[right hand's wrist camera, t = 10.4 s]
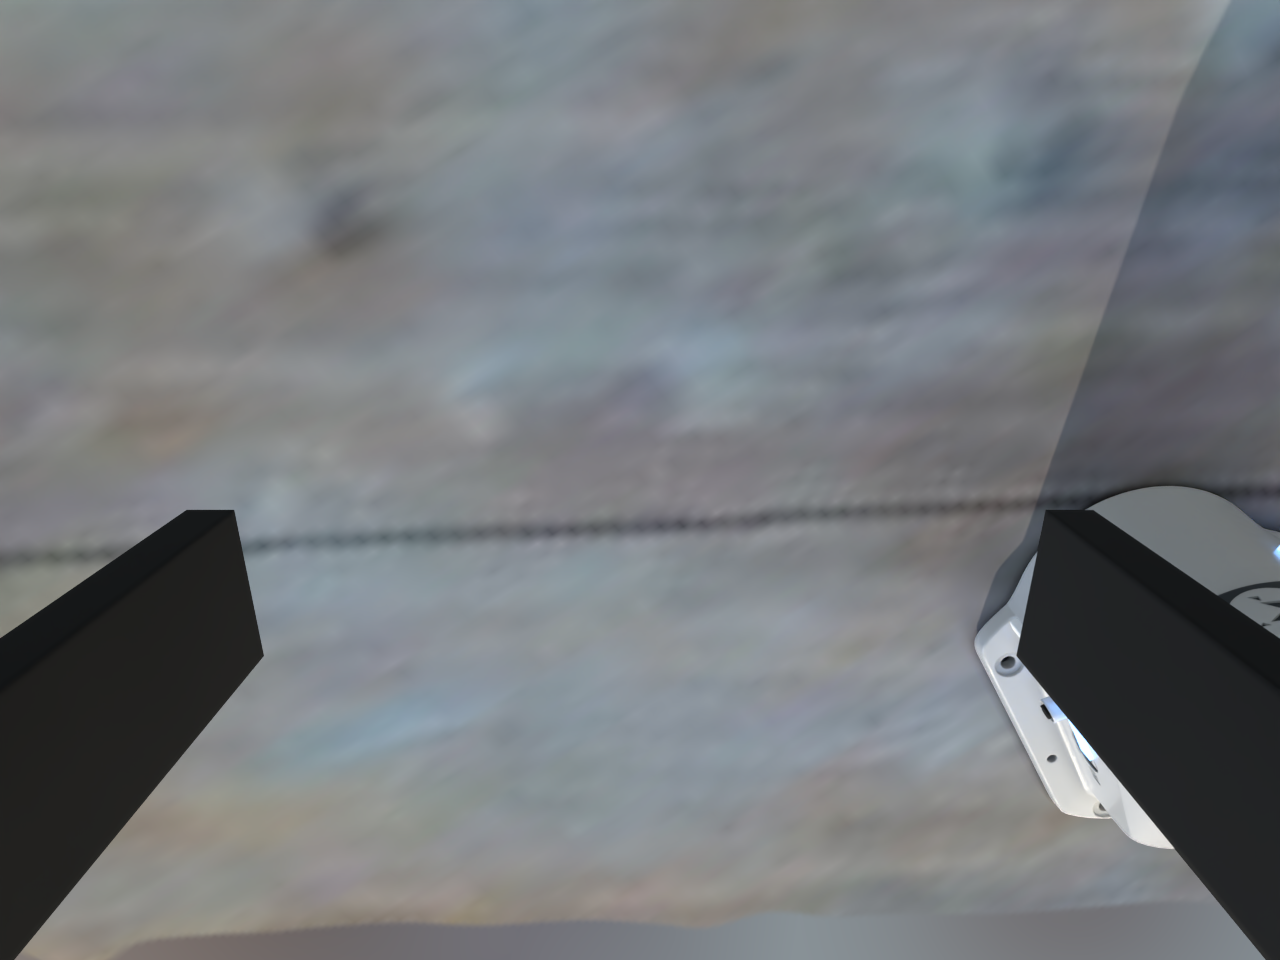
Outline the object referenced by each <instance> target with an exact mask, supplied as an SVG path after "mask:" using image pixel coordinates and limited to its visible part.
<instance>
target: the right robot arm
mask: <svg viewBox="0 0 1280 960" xmlns="http://www.w3.org/2000/svg"><path fill="white" fill-rule="evenodd" d="M263 656H264V654H263V650H262V645H261V640H260V635H259V630H258V625H257V620H256V615H255V610H254V605H253V600H252V595H251V591H250V586H249V581H248V576H247V571H246V566H245V561H244V556H243V551H242V546H241V541H240V537H239V532H238V527H237V522H236V517H235V512H234V510H186V511H185V512H183V513H182V514H180V515H179V516H177V517H176V518H174V519H173V520H171V521H170V522H169V523H167V524H166V525H164V526H163V527H161V528H160V529H158V530H157V531H155V532H154V533H153V534H151V535H150V536H148V537H147V538H145V539H144V540H142V541H141V542H140V543H138V544H137V545H135V546H134V547H132V548H131V549H129V550H128V551H126V552H125V553H124V554H122V555H121V556H119V557H118V558H116V559H115V560H113V561H112V562H110V563H109V564H108V565H106V566H105V567H103V568H102V569H100V570H99V571H97V572H96V573H94V574H93V575H92V576H90V577H89V578H87V579H86V580H84V581H83V582H81V583H80V584H79V585H77V586H76V587H74V588H73V589H71V590H70V591H68V592H67V593H65V594H64V595H63V596H61V597H60V598H58V599H57V600H55V601H54V602H52V603H51V604H49V605H48V606H47V607H45V608H44V609H42V610H41V611H39V612H38V613H36V614H35V615H33V616H32V617H31V618H29V619H28V620H26V621H25V622H23V623H22V624H20V625H19V626H18V627H16V628H15V629H13V630H12V631H10V632H9V633H7V634H6V635H4V636H3V637H2V638H0V960H14V959H15V958H16V957H17V956H18V954H19V953H20V952H21V951H22V950H23V948H24V947H25V946H26V945H27V944H28V942H29V941H30V940H31V939H32V937H33V936H34V935H35V934H36V933H37V931H38V930H39V929H40V928H41V926H42V925H43V924H44V923H45V922H46V920H47V919H48V918H49V917H50V916H51V914H52V913H53V912H54V911H55V909H56V908H57V907H58V906H59V905H60V903H61V902H62V901H63V900H64V898H65V897H66V896H67V895H68V894H69V892H70V891H71V890H72V889H73V888H74V886H75V885H76V884H77V883H78V881H79V880H80V879H81V878H82V877H83V875H84V874H85V873H86V872H87V870H88V869H89V868H90V867H91V866H92V864H93V863H94V862H95V861H96V860H97V858H98V857H99V856H100V855H101V853H102V852H103V851H104V850H105V849H106V847H107V846H108V845H109V844H110V842H111V841H112V840H113V839H114V838H115V836H116V835H117V834H118V833H119V832H120V830H121V829H122V828H123V827H124V825H125V824H126V823H127V822H128V821H129V819H130V818H131V817H132V816H133V814H134V813H135V812H136V811H137V810H138V808H139V807H140V806H141V805H142V804H143V802H144V801H145V800H146V799H147V797H148V796H149V795H150V794H151V793H152V791H153V790H154V789H155V788H156V786H157V785H158V784H159V783H160V782H161V780H162V779H163V778H164V777H165V776H166V774H167V773H168V772H169V771H170V769H171V768H172V767H173V766H174V765H175V763H176V762H177V761H178V760H179V758H180V757H181V756H182V755H183V754H184V752H185V751H186V750H187V749H188V748H189V746H190V745H191V744H192V743H193V741H194V740H195V739H196V738H197V737H198V735H199V734H200V733H201V732H202V730H203V729H204V728H205V727H206V726H207V724H208V723H209V722H210V721H211V720H212V718H213V717H214V716H215V715H216V713H217V712H218V711H219V710H220V709H221V707H222V706H223V705H224V704H225V702H226V701H227V700H228V699H229V698H230V696H231V695H232V694H233V693H234V692H235V690H236V689H237V688H238V687H239V685H240V684H241V683H242V682H243V681H244V679H245V678H246V677H247V676H248V674H249V673H250V672H251V671H252V670H253V668H254V667H255V666H256V665H257V664H258V662H259V661H260V660H261V659H262V657H263ZM1016 656H1017V657H1018V659H1019V660H1020V661H1021V662H1022V664H1023V665H1024V666H1025V667H1026V668H1027V670H1028V671H1029V672H1030V673H1031V674H1032V676H1033V677H1034V678H1035V679H1036V681H1037V682H1038V683H1039V684H1040V685H1041V687H1042V688H1043V689H1044V690H1045V692H1046V693H1047V694H1048V695H1049V696H1050V698H1051V699H1052V700H1053V701H1054V702H1055V704H1056V705H1057V706H1058V707H1059V709H1060V710H1061V711H1062V712H1063V713H1064V715H1065V716H1066V717H1067V718H1068V720H1069V721H1070V722H1071V723H1072V724H1073V726H1074V727H1075V728H1076V729H1077V730H1078V732H1079V733H1080V734H1081V735H1082V737H1083V738H1084V739H1085V740H1086V741H1087V743H1088V744H1089V745H1090V746H1091V748H1092V749H1093V750H1094V751H1095V752H1096V754H1097V755H1098V756H1099V757H1100V758H1101V760H1102V761H1103V762H1104V763H1105V765H1106V766H1107V767H1108V768H1109V769H1110V771H1111V772H1112V773H1113V774H1114V776H1115V777H1116V778H1117V779H1118V780H1119V782H1120V783H1121V784H1122V785H1123V786H1124V788H1125V789H1126V790H1127V791H1128V793H1129V794H1130V795H1131V796H1132V797H1133V799H1134V800H1135V801H1136V802H1137V804H1138V805H1139V806H1140V807H1141V808H1142V810H1143V811H1144V812H1145V813H1146V814H1147V816H1148V817H1149V818H1150V819H1151V821H1152V822H1153V823H1154V824H1155V825H1156V827H1157V828H1158V829H1159V830H1160V832H1161V833H1162V834H1163V835H1164V836H1165V838H1166V839H1167V840H1168V841H1169V842H1170V844H1171V845H1172V846H1173V847H1174V849H1175V850H1176V851H1177V852H1178V853H1179V855H1180V856H1181V857H1182V858H1183V860H1184V861H1185V862H1186V863H1187V864H1188V866H1189V867H1190V868H1191V869H1192V870H1193V872H1194V873H1195V874H1196V875H1197V877H1198V878H1199V879H1200V880H1201V881H1202V883H1203V884H1204V885H1205V886H1206V888H1207V889H1208V890H1209V891H1210V892H1211V894H1212V895H1213V896H1214V897H1215V898H1216V900H1217V901H1218V902H1219V903H1220V905H1221V906H1222V907H1223V908H1224V909H1225V911H1226V912H1227V913H1228V914H1229V916H1230V917H1231V918H1232V919H1233V920H1234V922H1235V923H1236V924H1237V925H1238V926H1239V928H1240V929H1241V930H1242V931H1243V933H1244V934H1245V935H1246V936H1247V937H1248V939H1249V940H1250V941H1251V942H1252V944H1253V945H1254V946H1255V947H1256V948H1257V950H1258V951H1259V952H1260V953H1261V954H1262V956H1263V957H1264V958H1265V959H1266V960H1280V638H1278V637H1277V636H1276V635H1274V634H1273V633H1271V632H1270V631H1268V630H1267V629H1265V628H1264V627H1262V626H1261V625H1260V624H1258V623H1257V622H1255V621H1254V620H1252V619H1251V618H1249V617H1248V616H1247V615H1245V614H1244V613H1242V612H1241V611H1239V610H1238V609H1236V608H1235V607H1233V606H1232V605H1231V604H1229V603H1228V602H1226V601H1225V600H1223V599H1222V598H1220V597H1219V596H1217V595H1216V594H1215V593H1213V592H1212V591H1210V590H1209V589H1207V588H1206V587H1204V586H1203V585H1201V584H1200V583H1199V582H1197V581H1196V580H1194V579H1193V578H1191V577H1190V576H1188V575H1187V574H1186V573H1184V572H1183V571H1181V570H1180V569H1178V568H1177V567H1175V566H1174V565H1172V564H1171V563H1170V562H1168V561H1167V560H1165V559H1164V558H1162V557H1161V556H1159V555H1158V554H1156V553H1155V552H1154V551H1152V550H1151V549H1149V548H1148V547H1146V546H1145V545H1143V544H1142V543H1140V542H1139V541H1138V540H1136V539H1135V538H1133V537H1132V536H1130V535H1129V534H1127V533H1126V532H1125V531H1123V530H1122V529H1120V528H1119V527H1117V526H1116V525H1114V524H1113V523H1111V522H1110V521H1109V520H1107V519H1106V518H1104V517H1103V516H1101V515H1100V514H1098V513H1097V512H1095V511H1094V510H1046V512H1045V517H1044V522H1043V527H1042V532H1041V537H1040V541H1039V546H1038V551H1037V556H1036V561H1035V566H1034V571H1033V576H1032V581H1031V586H1030V591H1029V595H1028V600H1027V605H1026V610H1025V615H1024V620H1023V625H1022V630H1021V635H1020V640H1019V645H1018V650H1017V654H1016Z"/></svg>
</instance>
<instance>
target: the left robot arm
mask: <svg viewBox="0 0 1280 960" xmlns="http://www.w3.org/2000/svg"><path fill="white" fill-rule="evenodd" d="M1085 510H1094V511H1095V512H1097V513H1098V514H1100V515H1101V516H1103V517H1104V518H1106V519H1107V520H1109V521H1110V522H1111V523H1113V524H1114V525H1116V526H1117V527H1119V528H1120V529H1122V530H1123V531H1125V532H1126V533H1127V534H1129V535H1130V536H1132V537H1133V538H1135V539H1136V540H1138V541H1139V542H1140V543H1142V544H1143V545H1145V546H1146V547H1148V548H1149V549H1151V550H1152V551H1154V552H1155V553H1156V554H1158V555H1159V556H1161V557H1162V558H1164V559H1165V560H1167V561H1168V562H1170V563H1171V564H1172V565H1174V566H1175V567H1177V568H1178V569H1180V570H1181V571H1183V572H1184V573H1186V574H1187V575H1188V576H1190V577H1191V578H1193V579H1194V580H1196V581H1197V582H1199V583H1200V584H1201V585H1203V586H1204V587H1206V588H1207V589H1209V590H1210V591H1212V592H1213V593H1215V594H1216V595H1217V596H1219V597H1220V598H1222V599H1223V600H1225V601H1226V602H1228V603H1229V604H1231V605H1232V606H1233V607H1235V608H1236V609H1238V610H1239V611H1241V612H1242V613H1244V614H1245V615H1247V616H1248V617H1249V618H1251V619H1252V620H1254V621H1255V622H1257V623H1258V624H1260V625H1261V626H1262V627H1264V628H1265V629H1267V630H1268V631H1270V632H1271V633H1273V634H1274V635H1276V636H1277V637H1278V638H1280V532H1277V531H1273V530H1268V529H1264V528H1262V527H1261V526H1259V525H1258V524H1257V523H1256V522H1254V521H1253V520H1252V519H1251V518H1249V517H1248V516H1247V515H1246V514H1245V513H1244V512H1242V511H1241V510H1240V509H1239V508H1238V507H1236V506H1235V505H1234V504H1232V503H1231V502H1229V501H1227V500H1226V499H1224V498H1222V497H1220V496H1218V495H1215V494H1213V493H1210V492H1207V491H1204V490H1200V489H1195V488H1190V487H1183V486H1156V487H1148V488H1141V489H1137V490H1132V491H1128V492H1125V493H1122V494H1119V495H1116V496H1113V497H1110V498H1108V499H1105V500H1103V501H1101V502H1099V503H1097V504H1095V505H1093V506H1091V507H1089V508H1087V509H1085ZM1036 556H1037V552H1036V554H1035V555H1034V556H1033V558H1032V559H1031V561H1030V562H1029V564H1028V566H1027V567H1026V569H1025V571H1024V573H1023V575H1022V577H1021V579H1020V581H1019V583H1018V585H1017V587H1016V589H1015V591H1014V593H1013V595H1012V597H1011V598H1010V600H1009V601H1008V603H1007V604H1006V605H1005V606H1004V607H1003V608H1002V609H1000V610H999V611H998V612H997V613H996V614H995V615H994V616H993V617H992V618H991V619H990V620H989V621H988V622H987V623H986V624H985V625H984V626H983V627H982V628H981V630H980V631H979V632H978V634H977V636H976V638H975V642H974V645H975V650H976V652H977V654H978V656H979V658H980V660H981V662H982V664H983V666H984V668H985V670H986V672H987V674H988V676H989V678H990V680H991V682H992V684H993V686H994V688H995V690H996V692H997V694H998V696H999V698H1000V700H1001V702H1002V704H1003V705H1004V707H1005V709H1006V711H1007V713H1008V715H1009V717H1010V719H1011V721H1012V723H1013V725H1014V727H1015V729H1016V731H1017V733H1018V735H1019V737H1020V739H1021V741H1022V743H1023V745H1024V747H1025V749H1026V751H1027V753H1028V755H1029V757H1030V759H1031V761H1032V763H1033V765H1034V767H1035V769H1036V771H1037V773H1038V775H1039V777H1040V779H1041V781H1042V782H1043V784H1044V786H1045V788H1046V790H1047V792H1048V794H1049V796H1050V798H1051V799H1052V800H1053V802H1054V803H1055V804H1056V805H1057V807H1058V808H1059V809H1060V810H1061V811H1062V812H1064V813H1066V814H1069V815H1074V816H1079V817H1087V818H1113V820H1114V821H1115V822H1116V823H1117V825H1118V826H1119V827H1120V828H1121V829H1122V830H1123V831H1124V833H1125V834H1126V835H1127V836H1128V837H1130V838H1131V839H1133V840H1135V841H1137V842H1139V843H1142V844H1145V845H1148V846H1153V847H1158V848H1169V849H1174V847H1173V846H1172V845H1171V844H1170V842H1169V841H1168V840H1167V839H1166V838H1165V836H1164V835H1163V834H1162V833H1161V832H1160V830H1159V829H1158V828H1157V827H1156V825H1155V824H1154V823H1153V822H1152V821H1151V819H1150V818H1149V817H1148V816H1147V814H1146V813H1145V812H1144V811H1143V810H1142V808H1141V807H1140V806H1139V805H1138V804H1137V802H1136V801H1135V800H1134V799H1133V797H1132V796H1131V795H1130V794H1129V793H1128V791H1127V790H1126V789H1125V788H1124V786H1123V785H1122V784H1121V783H1120V782H1119V780H1118V779H1117V778H1116V777H1115V776H1114V774H1113V773H1112V772H1111V771H1110V769H1109V768H1108V767H1107V766H1106V765H1105V763H1104V762H1103V761H1102V760H1101V758H1100V757H1099V756H1098V755H1097V754H1096V752H1095V751H1094V750H1093V749H1092V748H1091V746H1090V745H1089V744H1088V743H1087V741H1086V740H1085V739H1084V738H1083V737H1082V735H1081V734H1080V733H1079V732H1078V730H1077V729H1076V728H1075V727H1074V726H1073V724H1072V723H1071V722H1070V721H1069V720H1068V718H1067V717H1066V716H1065V715H1064V713H1063V712H1062V711H1061V710H1060V709H1059V707H1058V706H1057V705H1056V704H1055V702H1054V701H1053V700H1052V699H1051V698H1050V696H1049V695H1048V694H1047V693H1046V692H1045V690H1044V689H1043V688H1042V687H1041V685H1040V684H1039V683H1038V682H1037V681H1036V679H1035V678H1034V677H1033V676H1032V674H1031V673H1030V672H1029V671H1028V670H1027V668H1026V667H1025V666H1024V665H1023V664H1022V662H1021V661H1020V660H1019V659H1018V657H1017V656H1016V654H1017V650H1018V645H1019V640H1020V635H1021V630H1022V625H1023V620H1024V615H1025V610H1026V605H1027V600H1028V595H1029V591H1030V586H1031V581H1032V576H1033V571H1034V566H1035V561H1036ZM1007 656H1010V657H1009V658H1008V659H1007V660H1006V661H1003V662H1001V661H1002V659H1003V658H1005V657H1007Z"/></svg>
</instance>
